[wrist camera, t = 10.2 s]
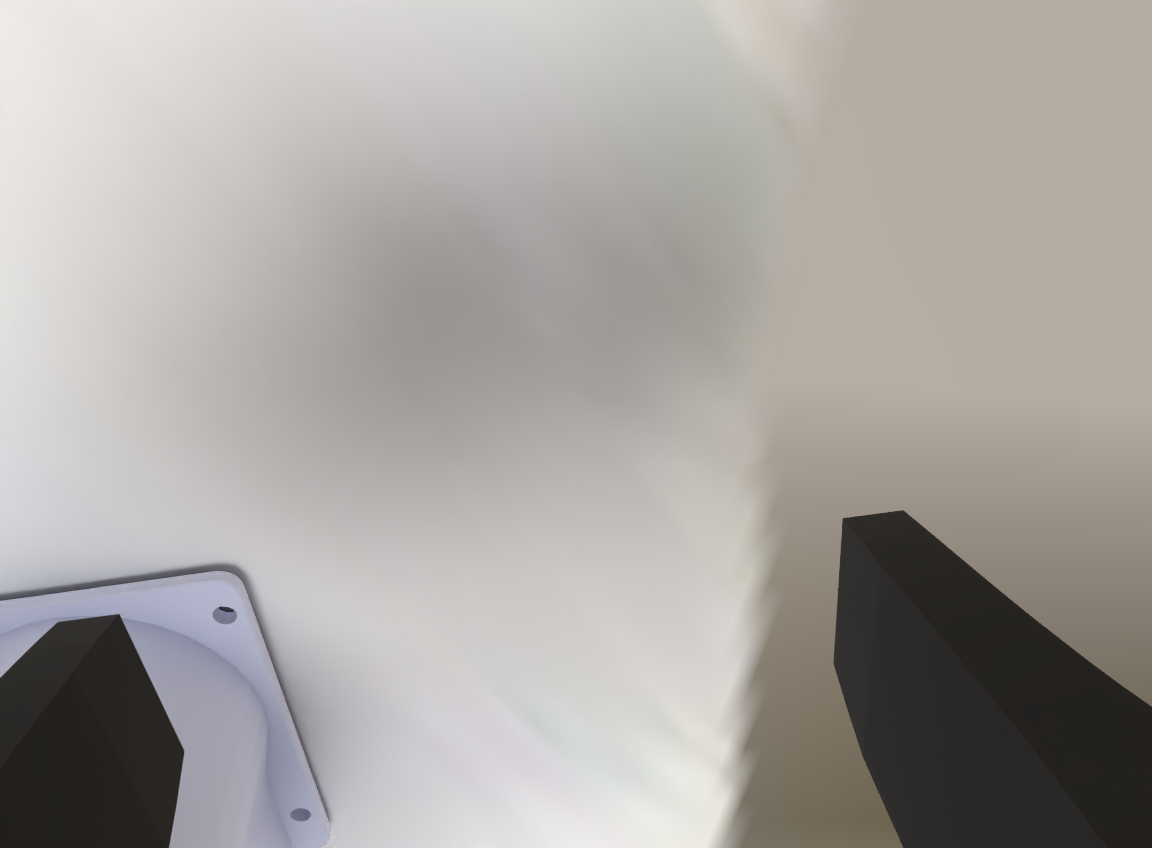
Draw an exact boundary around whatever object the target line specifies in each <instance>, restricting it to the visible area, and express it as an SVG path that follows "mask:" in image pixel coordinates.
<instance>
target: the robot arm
mask: <svg viewBox="0 0 1152 848" xmlns="http://www.w3.org/2000/svg"><path fill="white" fill-rule="evenodd" d="M221 606H223V607H229V608H232V609H234V612H224V611H222V610H220V609H219V608H218V607H221ZM834 651H835V652H834V666H835V670H836V673H837V676H838V679H839V683H840V686H841V689H842V693H843V696H844V699H845V702H846V706H847V709H848V712H849V715H850V719H851V722H852V725H853V728H854V731H855V733H856V737H857V740H858V743H859V746H860V749H861V752H862V755H863V757H864V760H865V762H866V765H867V767H868V769H869V771H870V774H871V776H872V778H873V781H874V783H875V785H876V787H877V790H878V792H879V794H880V796H881V799H882V800H883V803H884V805H885V808H886V810H887V812H888V814H889V816H890V819H891V821H892V823H893V825H894V828H895V830H896V832H897V834H898V836H899V839H900V841H901V843H902V845H903V848H1152V707H1151V706H1150V705H1148V704H1147V703H1145V702H1144V701H1143V700H1141V699H1140V698H1138V697H1137V696H1136V695H1134V694H1133V693H1131V692H1130V691H1128V690H1127V689H1126V688H1124V687H1123V686H1121V685H1120V684H1119V683H1117V682H1116V681H1115V680H1113V679H1112V678H1111V677H1109V676H1108V675H1106V674H1105V673H1104V672H1102V671H1101V670H1100V669H1098V668H1097V667H1096V666H1094V665H1093V664H1092V663H1090V662H1089V661H1088V660H1087V659H1085V658H1084V657H1083V656H1081V655H1080V654H1079V653H1078V652H1076V651H1075V650H1074V649H1072V648H1071V647H1070V646H1069V645H1067V644H1066V643H1065V642H1063V641H1062V640H1061V639H1060V638H1058V637H1057V636H1056V635H1054V634H1053V633H1052V632H1050V631H1049V630H1048V629H1047V628H1045V627H1044V626H1043V625H1041V624H1040V623H1039V622H1038V621H1036V620H1035V619H1034V618H1033V617H1031V616H1030V615H1029V614H1028V613H1026V612H1025V611H1024V610H1023V609H1021V608H1020V607H1019V606H1018V605H1017V604H1015V603H1014V602H1013V601H1012V600H1010V599H1009V598H1008V597H1007V596H1006V595H1004V594H1003V593H1002V592H1000V591H999V590H998V589H997V588H996V587H995V586H993V585H992V584H991V583H990V582H989V581H987V580H986V579H985V578H984V577H983V576H981V575H980V574H979V573H978V572H976V571H975V570H974V569H973V568H972V567H971V566H969V565H968V564H967V563H966V562H965V561H963V560H962V559H961V558H960V557H959V556H957V555H956V554H955V553H954V552H953V551H952V550H950V549H949V548H948V547H947V546H946V545H944V544H943V543H942V542H941V541H939V540H938V539H937V538H936V537H935V536H934V535H932V534H931V533H930V532H929V531H927V530H926V529H925V528H924V527H923V526H922V525H920V524H919V523H918V522H917V521H916V520H914V519H913V518H912V517H910V516H909V515H908V514H907V513H906V512H905V511H895V512H888V513H880V514H873V515H865V516H857V517H850V518H843V524H842V540H841V556H840V571H839V588H838V603H837V620H836V635H835V650H834ZM303 808H304V809H303ZM329 835H330V823H329V821H328V818H327V815H326V812H325V809H324V807H323V804H322V801H321V798H320V796H319V793H318V790H317V787H316V784H315V782H314V779H313V776H312V773H311V770H310V768H309V765H308V762H307V759H306V756H305V754H304V751H303V748H302V745H301V743H300V740H299V737H298V734H297V731H296V729H295V726H294V723H293V720H292V717H291V715H290V712H289V709H288V706H287V703H286V701H285V698H284V695H283V692H282V690H281V687H280V684H279V681H278V678H277V676H276V673H275V670H274V667H273V664H272V662H271V659H270V656H269V653H268V650H267V648H266V645H265V642H264V639H263V637H262V634H261V631H260V628H259V625H258V623H257V620H256V617H255V614H254V611H253V609H252V606H251V603H250V600H249V597H248V595H247V592H246V589H245V586H244V584H243V583H242V581H241V580H240V578H238V577H237V576H235V575H234V574H232V573H229V572H226V571H212V572H204V573H197V574H190V575H183V576H176V577H169V578H161V579H154V580H147V581H140V582H133V583H126V584H118V585H111V586H104V587H97V588H90V589H83V590H75V591H68V592H61V593H54V594H47V595H40V596H32V597H25V598H18V599H11V600H4V601H0V848H320V847H322V846H323V845H325V844H326V843H327V841H328V840H329Z"/></svg>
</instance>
